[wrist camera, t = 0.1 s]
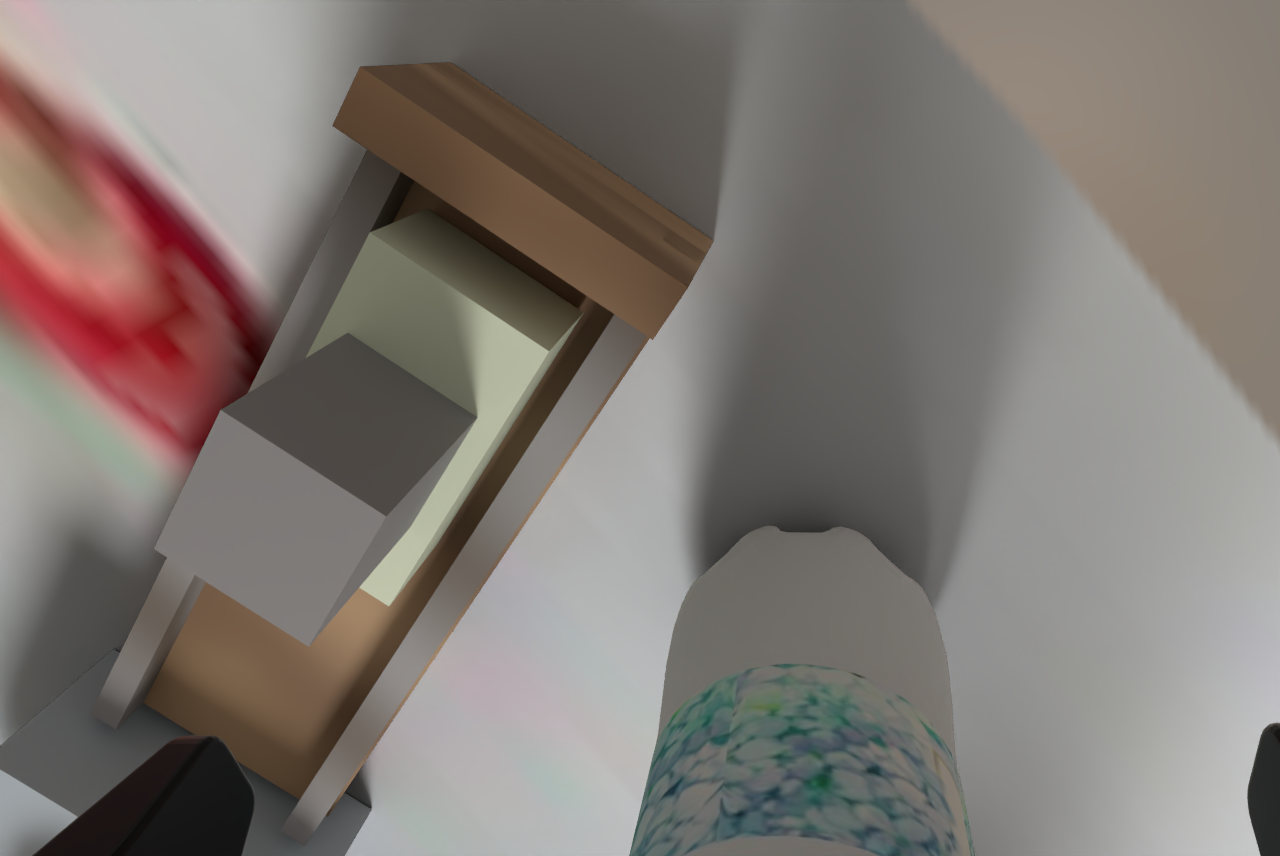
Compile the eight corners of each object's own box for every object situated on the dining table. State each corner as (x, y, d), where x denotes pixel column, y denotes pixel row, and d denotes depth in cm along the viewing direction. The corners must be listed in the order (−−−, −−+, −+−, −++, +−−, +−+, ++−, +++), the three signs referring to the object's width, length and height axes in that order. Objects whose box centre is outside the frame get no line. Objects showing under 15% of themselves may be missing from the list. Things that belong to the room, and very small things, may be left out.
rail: (350, 781, 30) (270, 905, 26) (148, 655, 30) (33, 760, 25) (713, 240, 23) (687, 287, 18) (450, 62, 22) (360, 66, 18)
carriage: (437, 543, 24) (287, 739, 18) (297, 452, 24) (88, 616, 17) (583, 312, 22) (473, 437, 15) (427, 208, 22) (241, 285, 15)
